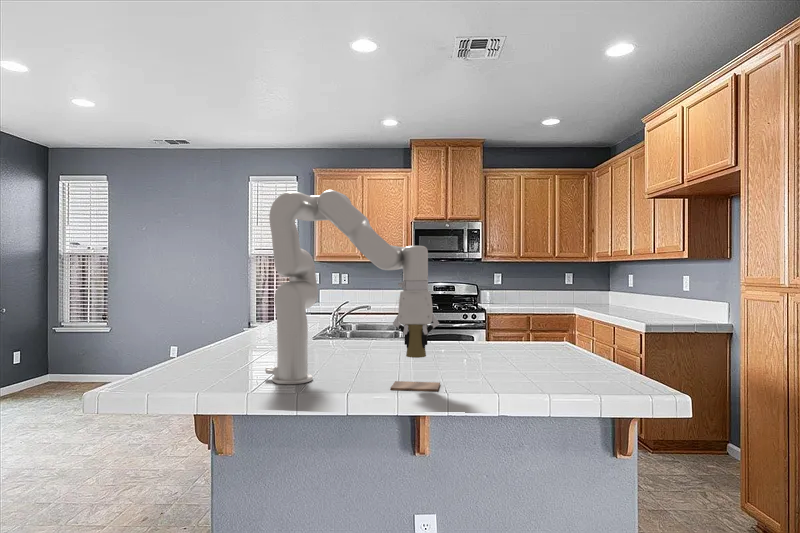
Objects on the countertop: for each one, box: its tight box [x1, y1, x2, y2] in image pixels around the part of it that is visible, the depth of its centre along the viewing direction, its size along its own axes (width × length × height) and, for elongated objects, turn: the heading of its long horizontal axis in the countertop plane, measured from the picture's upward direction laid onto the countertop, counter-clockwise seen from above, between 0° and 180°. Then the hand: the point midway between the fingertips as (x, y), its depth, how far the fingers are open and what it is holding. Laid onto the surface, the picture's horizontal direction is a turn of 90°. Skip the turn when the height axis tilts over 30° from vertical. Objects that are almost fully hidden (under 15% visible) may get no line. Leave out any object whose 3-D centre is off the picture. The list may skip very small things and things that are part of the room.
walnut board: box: [390, 380, 441, 392], centre depth 159 cm, size 14×9×1 cm, turn 82°
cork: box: [405, 325, 427, 359], centre depth 159 cm, size 6×6×11 cm
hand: (416, 346), depth 159 cm, fingers closed on cork, 4 cm apart
